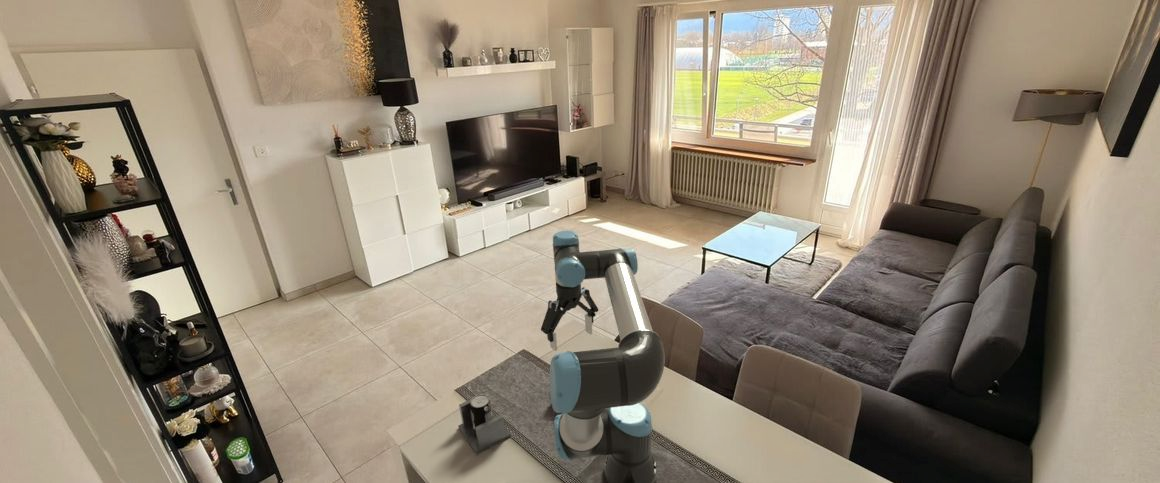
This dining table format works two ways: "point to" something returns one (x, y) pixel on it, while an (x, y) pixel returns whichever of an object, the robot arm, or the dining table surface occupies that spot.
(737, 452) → the dining table surface
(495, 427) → the holder
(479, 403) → the beverage can
